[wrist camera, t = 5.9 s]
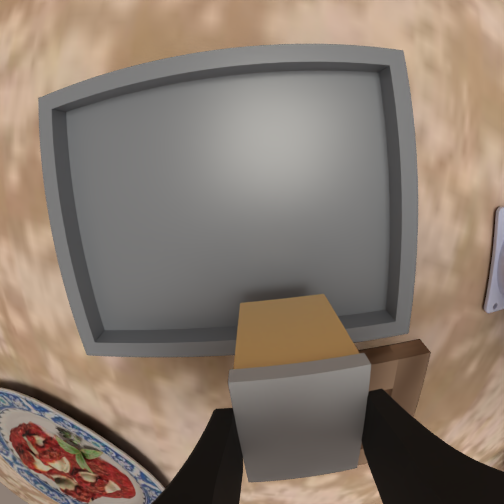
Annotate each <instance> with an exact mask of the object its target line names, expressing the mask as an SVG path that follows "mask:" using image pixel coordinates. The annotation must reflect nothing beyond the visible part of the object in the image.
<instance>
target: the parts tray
mask: <svg viewBox="0 0 504 504" xmlns="http://www.w3.org/2000/svg"><path fill="white" fill-rule="evenodd" d="M39 133H40V149H41V161H42V171H43V179H44V187H45V195H46V201H47V208H48V214H49V220H50V225H51V230H52V236H53V240H54V245H55V250H56V254H57V259H58V263H59V267H60V271H61V275H62V279H63V282H64V286H65V290H66V293H67V297H68V300H69V304H70V307H71V310H72V313H73V317H74V320H75V323H76V326H77V329H78V332H79V335H80V337H81V340H82V343H83V346H84V349H85V351H86V354H87V355H93V356H116V357H201V356H225V355H235V349H236V339H237V329H238V319H239V309H240V303H245V302H255V301H265V300H274V299H284V298H292V297H301V296H309V295H318V294H324V295H325V296H326V298H327V300H328V301H329V303H330V304H331V306H332V308H333V309H334V311H335V313H336V314H337V316H338V318H339V319H340V321H341V323H342V324H343V326H344V328H345V329H346V331H347V333H348V334H349V336H350V338H351V340H352V341H353V343H355V342H362V341H368V340H374V339H380V338H386V337H392V336H397V335H402V334H408V332H409V326H410V318H411V311H412V302H413V293H414V283H415V271H416V256H417V235H418V175H417V154H416V140H415V128H414V118H413V109H412V101H411V94H410V87H409V80H408V74H407V68H406V63H405V57H404V52H403V50H396V49H388V48H379V47H368V46H356V45H338V44H279V45H261V46H248V47H237V48H228V49H220V50H212V51H205V52H199V53H193V54H187V55H181V56H176V57H171V58H166V59H161V60H156V61H152V62H148V63H143V64H139V65H135V66H132V67H128V68H124V69H120V70H117V71H113V72H110V73H107V74H103V75H100V76H97V77H94V78H91V79H88V80H85V81H82V82H79V83H76V84H73V85H71V86H68V87H65V88H63V89H60V90H57V91H55V92H52V93H50V94H47V95H45V96H43V97H40V98H39Z"/></svg>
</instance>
